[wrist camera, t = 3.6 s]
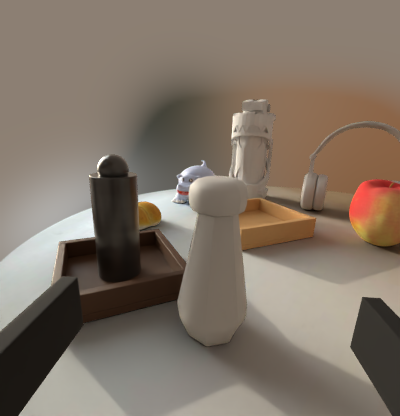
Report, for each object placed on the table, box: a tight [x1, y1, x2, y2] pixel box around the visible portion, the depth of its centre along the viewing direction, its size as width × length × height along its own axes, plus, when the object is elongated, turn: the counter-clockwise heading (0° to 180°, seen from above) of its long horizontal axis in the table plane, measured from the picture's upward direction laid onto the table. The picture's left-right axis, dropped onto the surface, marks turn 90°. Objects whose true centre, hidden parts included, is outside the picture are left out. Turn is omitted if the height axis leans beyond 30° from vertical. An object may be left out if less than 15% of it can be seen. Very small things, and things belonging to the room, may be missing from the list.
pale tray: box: [239, 198, 316, 250], centre depth 45 cm, size 15×15×3 cm
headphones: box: [300, 121, 400, 210], centre depth 52 cm, size 20×8×19 cm, turn 64°
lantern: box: [229, 100, 276, 199], centre depth 66 cm, size 13×10×25 cm
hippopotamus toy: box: [172, 160, 215, 203], centre depth 59 cm, size 11×15×10 cm
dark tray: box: [51, 229, 186, 323], centre depth 28 cm, size 13×13×3 cm
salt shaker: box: [177, 176, 248, 347], centre depth 20 cm, size 6×6×13 cm
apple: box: [349, 179, 400, 246], centre depth 39 cm, size 10×10×10 cm
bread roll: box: [138, 202, 161, 230], centre depth 45 cm, size 8×9×4 cm
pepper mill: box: [89, 154, 141, 282], centre depth 27 cm, size 5×5×13 cm
